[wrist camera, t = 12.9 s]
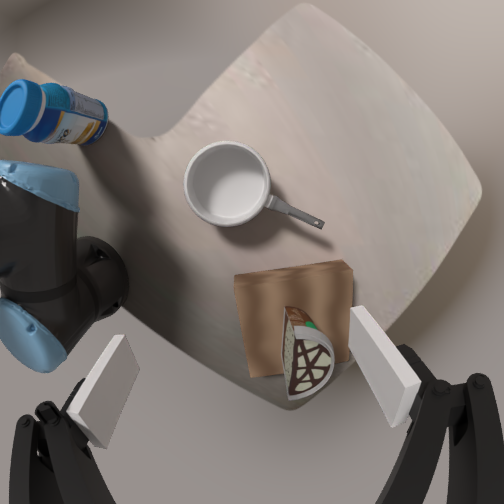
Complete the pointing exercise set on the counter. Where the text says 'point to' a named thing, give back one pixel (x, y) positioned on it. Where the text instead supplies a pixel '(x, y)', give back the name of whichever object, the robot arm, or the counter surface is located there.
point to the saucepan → (233, 186)
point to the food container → (304, 354)
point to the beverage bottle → (51, 114)
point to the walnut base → (296, 295)
